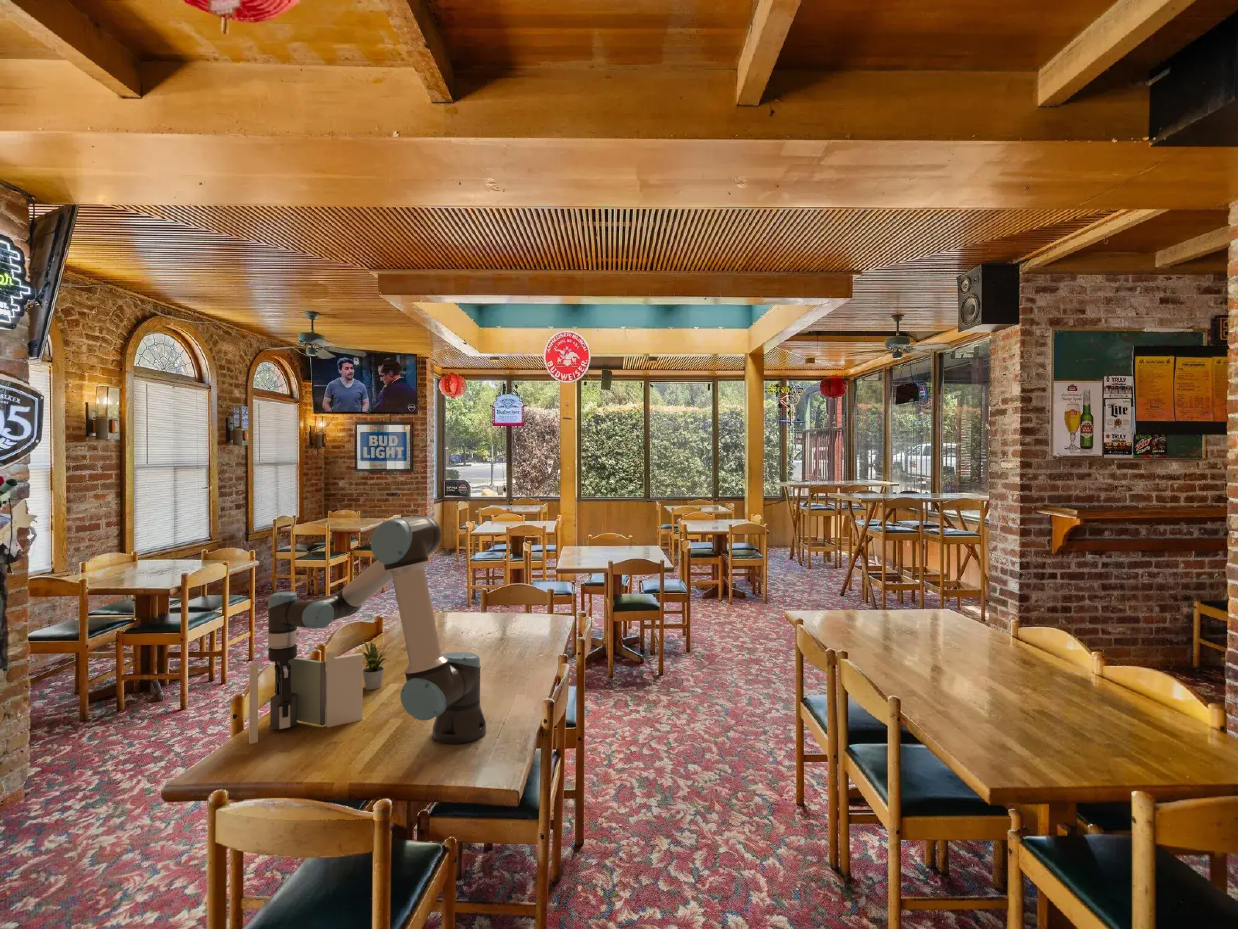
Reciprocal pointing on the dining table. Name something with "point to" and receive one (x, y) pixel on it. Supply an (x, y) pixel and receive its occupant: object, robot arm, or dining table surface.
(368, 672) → the house plant
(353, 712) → the door frame
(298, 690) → the door
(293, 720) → the dark brown cylinder
